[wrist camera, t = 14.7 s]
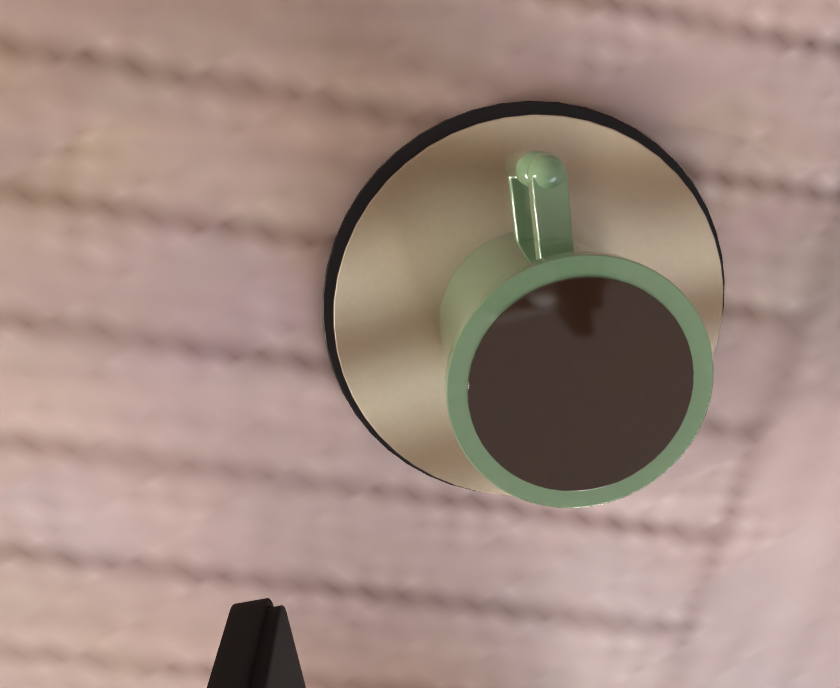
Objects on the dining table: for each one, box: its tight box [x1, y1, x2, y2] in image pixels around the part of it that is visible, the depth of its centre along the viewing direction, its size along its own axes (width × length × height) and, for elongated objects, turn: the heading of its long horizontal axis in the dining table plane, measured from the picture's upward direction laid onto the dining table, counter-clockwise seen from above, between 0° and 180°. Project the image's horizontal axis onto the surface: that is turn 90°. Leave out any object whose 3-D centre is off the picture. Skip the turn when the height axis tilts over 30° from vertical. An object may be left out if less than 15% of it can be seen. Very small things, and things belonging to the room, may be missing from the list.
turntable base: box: [323, 101, 724, 491], centre depth 28 cm, size 16×16×1 cm
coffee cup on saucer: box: [334, 115, 723, 508], centre depth 24 cm, size 15×15×8 cm
